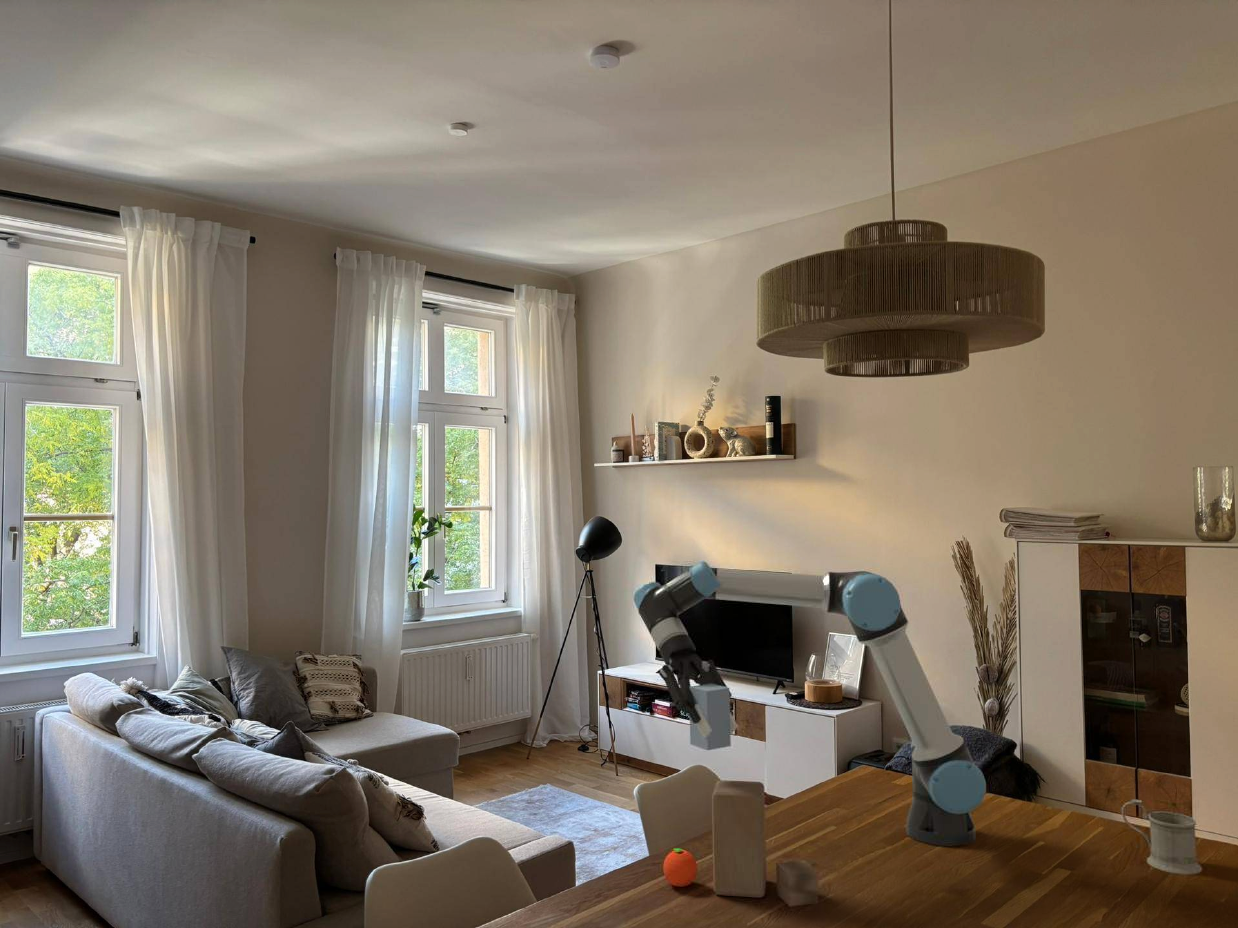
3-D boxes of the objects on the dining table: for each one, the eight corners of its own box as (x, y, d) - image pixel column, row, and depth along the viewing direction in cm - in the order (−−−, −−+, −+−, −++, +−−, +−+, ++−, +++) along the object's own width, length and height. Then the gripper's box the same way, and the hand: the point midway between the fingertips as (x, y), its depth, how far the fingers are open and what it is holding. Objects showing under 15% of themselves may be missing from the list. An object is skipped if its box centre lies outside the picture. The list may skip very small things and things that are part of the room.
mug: (1206, 863, 190) (1203, 805, 191) (1196, 878, 183) (1193, 817, 184) (1129, 847, 200) (1127, 792, 201) (1117, 860, 193) (1114, 803, 193)
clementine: (655, 879, 186) (655, 844, 187) (686, 874, 189) (685, 839, 189) (672, 894, 179) (671, 858, 179) (703, 888, 182) (702, 852, 182)
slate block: (712, 739, 193) (711, 683, 194) (730, 745, 188) (729, 687, 189) (690, 744, 190) (689, 686, 191) (707, 750, 185) (706, 691, 186)
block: (764, 899, 176) (762, 795, 177) (713, 896, 178) (711, 793, 179) (766, 879, 186) (764, 780, 187) (718, 876, 188) (716, 778, 189)
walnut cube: (804, 890, 180) (804, 859, 181) (818, 902, 174) (817, 871, 175) (776, 893, 179) (776, 862, 179) (789, 906, 173) (788, 874, 173)
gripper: (701, 649, 208) (748, 736, 193) (631, 657, 198) (676, 749, 183) (714, 629, 204) (764, 715, 189) (644, 636, 194) (691, 728, 179)
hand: (721, 732), depth 186 cm, fingers closed on slate block, 6 cm apart
